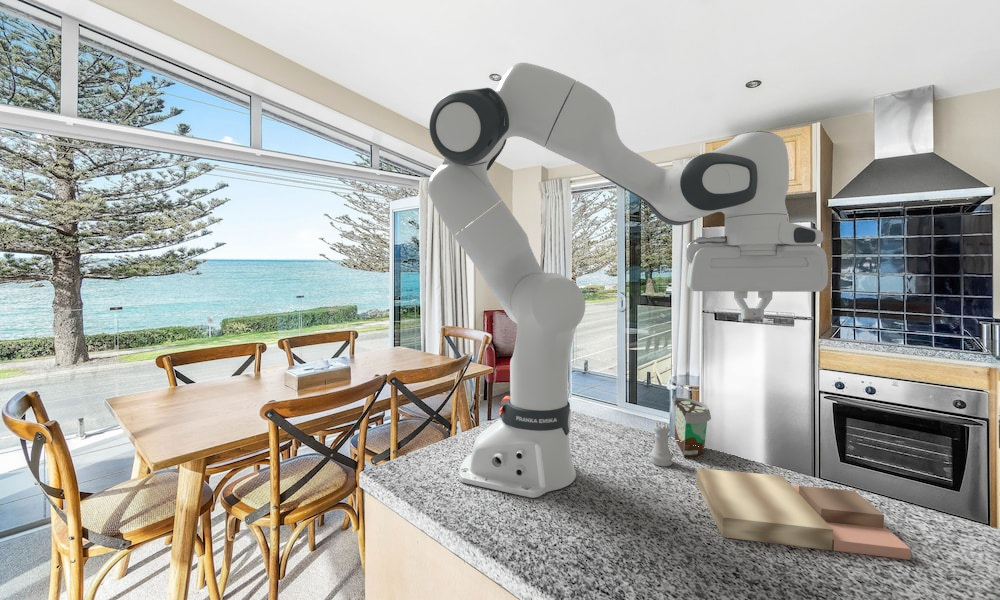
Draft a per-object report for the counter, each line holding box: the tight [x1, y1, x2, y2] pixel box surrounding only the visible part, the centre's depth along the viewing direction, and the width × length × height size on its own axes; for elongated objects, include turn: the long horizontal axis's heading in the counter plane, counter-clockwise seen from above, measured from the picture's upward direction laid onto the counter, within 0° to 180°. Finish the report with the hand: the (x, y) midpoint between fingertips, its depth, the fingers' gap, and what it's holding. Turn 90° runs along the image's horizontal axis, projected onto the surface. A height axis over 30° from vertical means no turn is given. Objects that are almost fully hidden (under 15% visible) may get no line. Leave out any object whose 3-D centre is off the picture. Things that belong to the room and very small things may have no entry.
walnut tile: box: [798, 485, 885, 528], centre depth 65 cm, size 8×7×2 cm
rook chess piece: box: [649, 421, 674, 468], centre depth 86 cm, size 4×4×8 cm
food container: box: [673, 397, 712, 459], centre depth 92 cm, size 12×6×10 cm, turn 168°
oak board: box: [696, 467, 833, 551], centre depth 68 cm, size 14×16×3 cm
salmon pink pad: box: [791, 484, 912, 561], centre depth 65 cm, size 9×16×2 cm, turn 167°
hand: (752, 319), depth 70 cm, fingers closed
